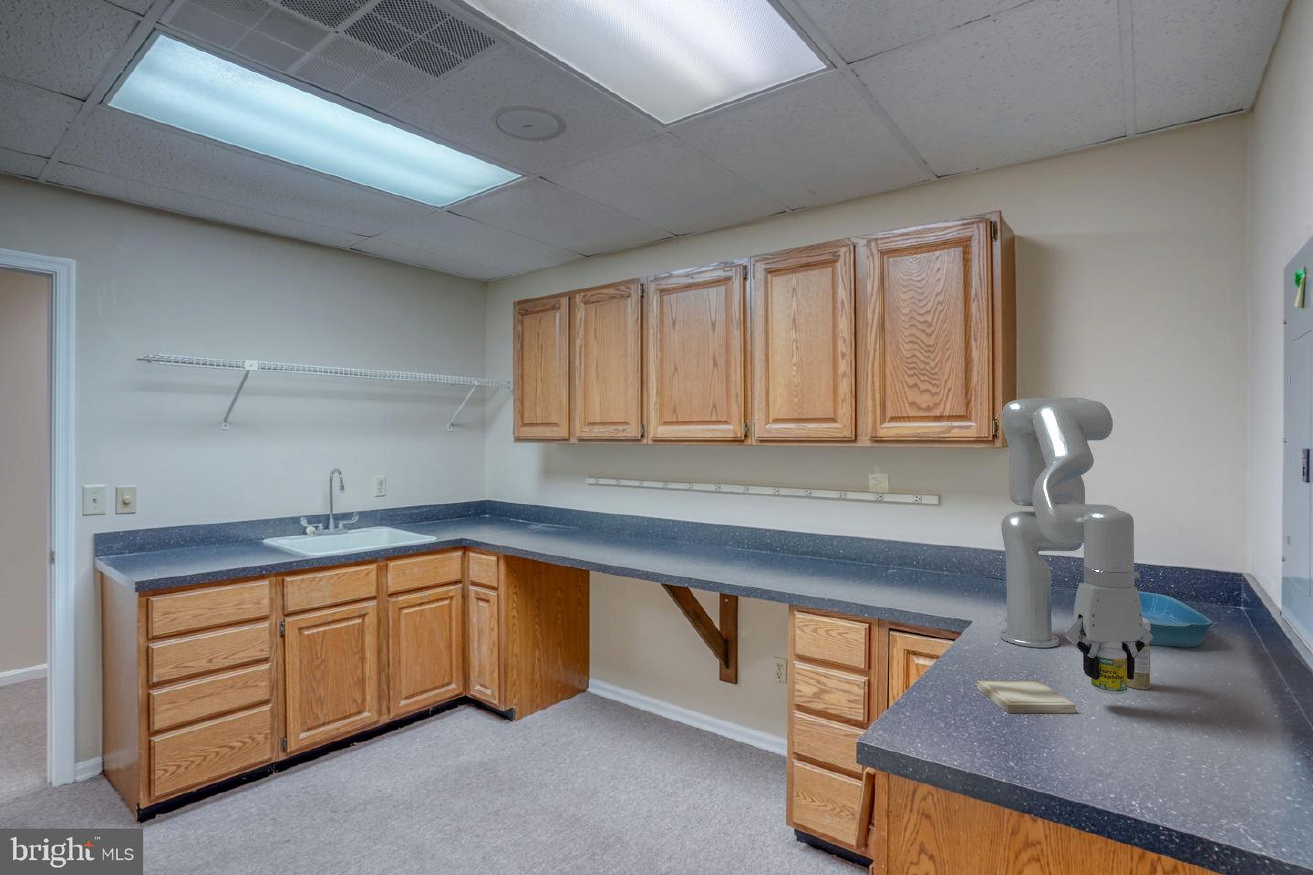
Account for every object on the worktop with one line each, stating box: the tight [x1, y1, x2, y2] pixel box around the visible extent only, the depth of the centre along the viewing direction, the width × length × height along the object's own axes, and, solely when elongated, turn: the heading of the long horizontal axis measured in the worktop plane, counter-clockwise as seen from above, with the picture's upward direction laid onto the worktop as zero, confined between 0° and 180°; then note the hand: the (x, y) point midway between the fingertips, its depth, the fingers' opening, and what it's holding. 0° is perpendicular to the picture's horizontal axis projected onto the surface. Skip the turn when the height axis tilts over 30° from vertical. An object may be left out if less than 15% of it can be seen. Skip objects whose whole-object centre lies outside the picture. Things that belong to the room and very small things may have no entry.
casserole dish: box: [1138, 590, 1213, 648], centre depth 168 cm, size 37×22×7 cm, turn 160°
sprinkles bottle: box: [1127, 618, 1152, 690], centre depth 130 cm, size 5×5×14 cm
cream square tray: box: [976, 679, 1076, 714], centre depth 123 cm, size 12×12×2 cm
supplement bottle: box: [1090, 641, 1128, 696], centre depth 119 cm, size 6×5×10 cm
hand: (1108, 675), depth 119 cm, fingers closed on supplement bottle, 5 cm apart
